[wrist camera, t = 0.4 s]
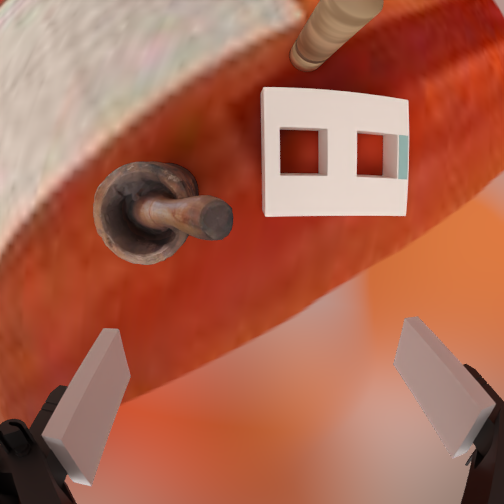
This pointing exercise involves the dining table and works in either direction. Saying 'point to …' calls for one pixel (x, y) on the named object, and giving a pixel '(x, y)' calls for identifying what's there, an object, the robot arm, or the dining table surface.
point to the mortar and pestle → (155, 211)
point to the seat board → (334, 153)
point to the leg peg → (330, 30)
